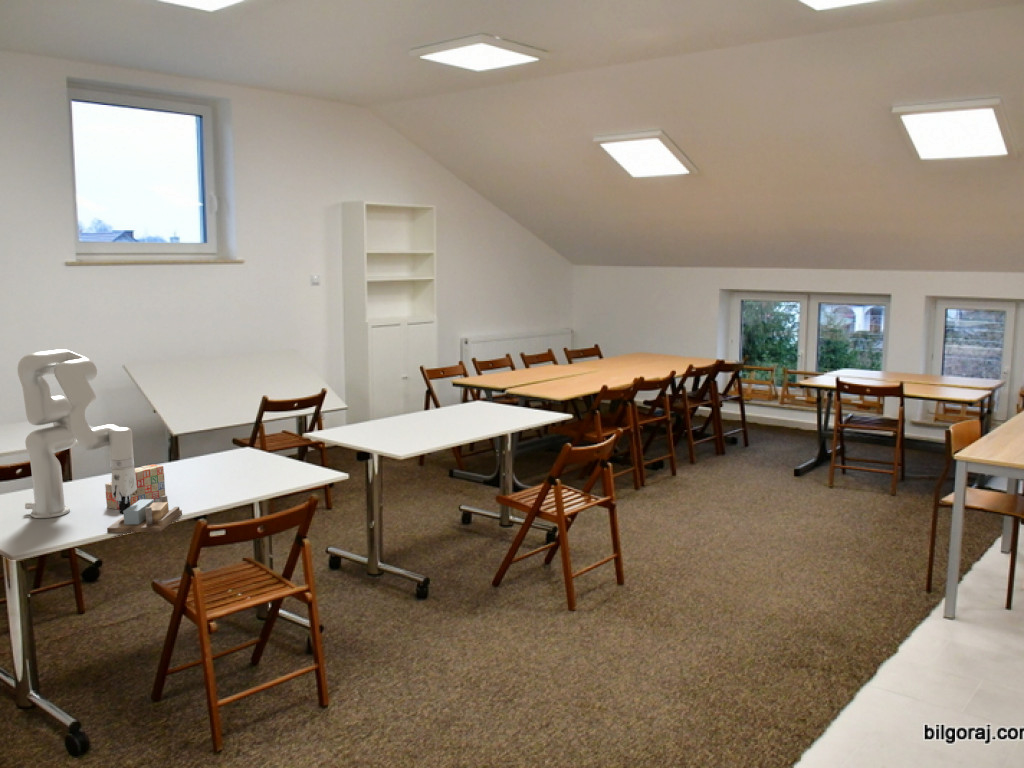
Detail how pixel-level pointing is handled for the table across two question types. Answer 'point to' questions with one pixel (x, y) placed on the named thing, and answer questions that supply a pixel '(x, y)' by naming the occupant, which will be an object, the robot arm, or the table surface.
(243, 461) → the table surface
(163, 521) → the base
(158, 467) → the stack of blocks
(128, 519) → the light blue long block
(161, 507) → the wooden block
